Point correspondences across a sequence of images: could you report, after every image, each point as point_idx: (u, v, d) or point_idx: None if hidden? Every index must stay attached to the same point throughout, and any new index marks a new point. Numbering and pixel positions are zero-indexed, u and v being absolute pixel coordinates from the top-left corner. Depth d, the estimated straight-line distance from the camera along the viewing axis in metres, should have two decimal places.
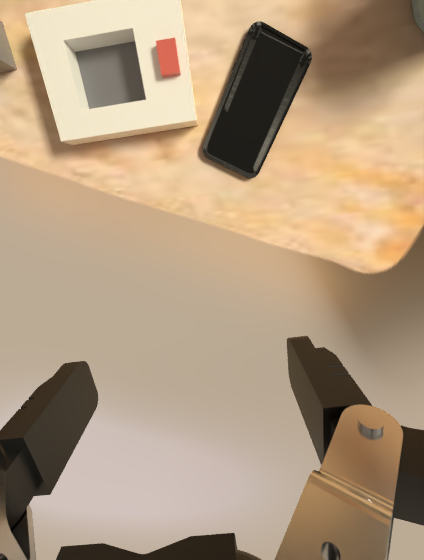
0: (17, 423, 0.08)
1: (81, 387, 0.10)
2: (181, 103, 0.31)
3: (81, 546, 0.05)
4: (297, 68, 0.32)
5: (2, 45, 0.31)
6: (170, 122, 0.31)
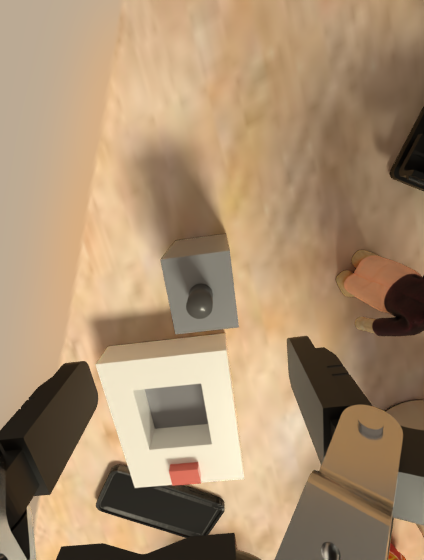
0: (17, 423, 0.08)
1: (81, 387, 0.10)
2: (148, 477, 0.30)
3: (81, 546, 0.05)
4: (191, 532, 0.36)
5: None
6: (129, 468, 0.29)
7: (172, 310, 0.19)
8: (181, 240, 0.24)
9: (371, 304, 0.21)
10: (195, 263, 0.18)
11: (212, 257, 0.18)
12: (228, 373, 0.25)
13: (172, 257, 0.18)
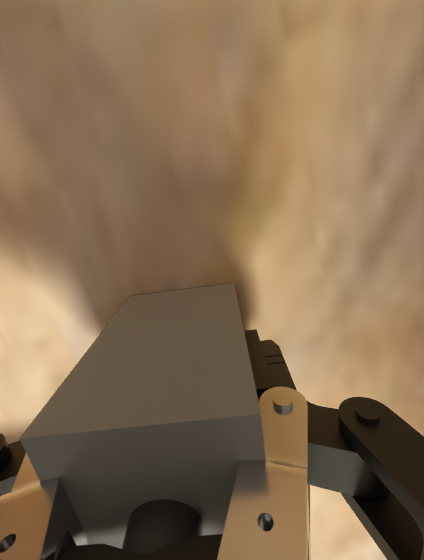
0: None
1: None
2: None
3: (81, 546, 0.05)
4: None
5: None
6: None
7: None
8: (139, 299, 0.11)
9: None
10: (141, 449, 0.05)
11: (198, 433, 0.05)
12: None
13: (64, 425, 0.05)
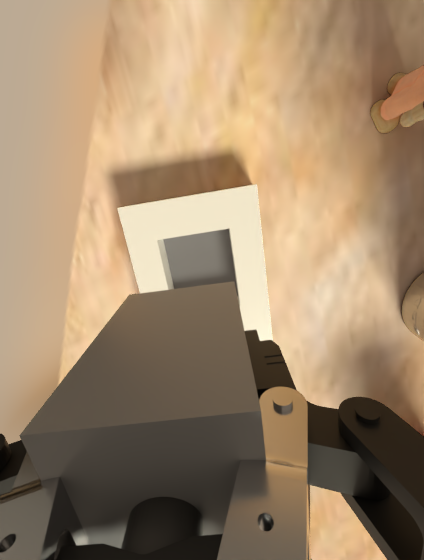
0: None
1: None
2: None
3: (81, 546, 0.05)
4: None
5: None
6: None
7: None
8: (139, 298, 0.11)
9: (417, 100, 0.19)
10: (142, 446, 0.05)
11: (198, 431, 0.05)
12: (258, 214, 0.24)
13: (64, 423, 0.05)
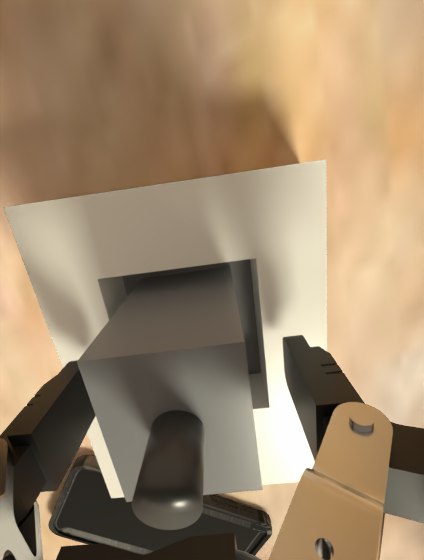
0: (24, 420, 0.08)
1: None
2: None
3: (81, 546, 0.05)
4: None
5: None
6: (98, 459, 0.14)
7: (116, 460, 0.09)
8: (150, 280, 0.13)
9: None
10: (162, 369, 0.07)
11: (201, 357, 0.07)
12: (323, 229, 0.10)
13: (107, 354, 0.07)
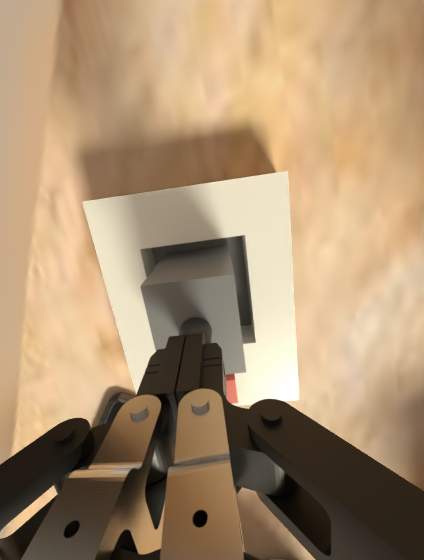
0: (159, 382, 0.09)
1: None
2: None
3: None
4: None
5: None
6: (134, 383, 0.20)
7: None
8: (172, 253, 0.19)
9: None
10: (187, 291, 0.13)
11: (210, 283, 0.13)
12: (288, 215, 0.16)
13: (156, 283, 0.13)
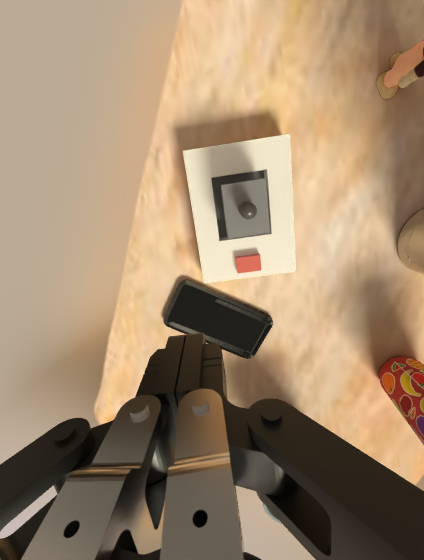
0: (159, 382, 0.09)
1: None
2: (216, 271, 0.36)
3: None
4: (242, 349, 0.42)
5: None
6: (201, 261, 0.35)
7: (227, 221, 0.29)
8: None
9: (410, 69, 0.27)
10: (243, 187, 0.28)
11: (254, 183, 0.28)
12: (290, 158, 0.31)
13: (228, 184, 0.28)
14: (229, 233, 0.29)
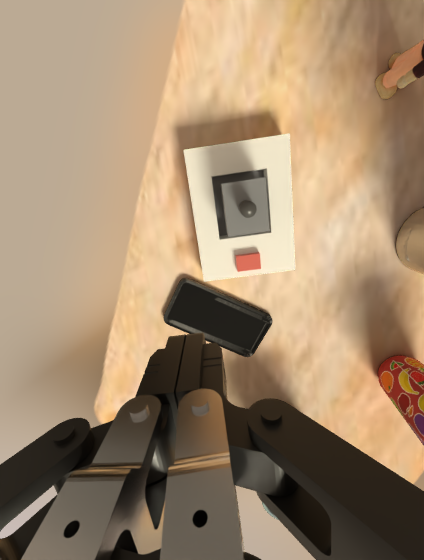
0: (159, 382, 0.09)
1: None
2: (216, 270, 0.36)
3: None
4: (241, 348, 0.42)
5: None
6: (201, 259, 0.35)
7: (227, 219, 0.29)
8: None
9: (409, 69, 0.27)
10: (243, 186, 0.28)
11: (254, 182, 0.28)
12: (289, 157, 0.31)
13: None
14: (229, 231, 0.30)
